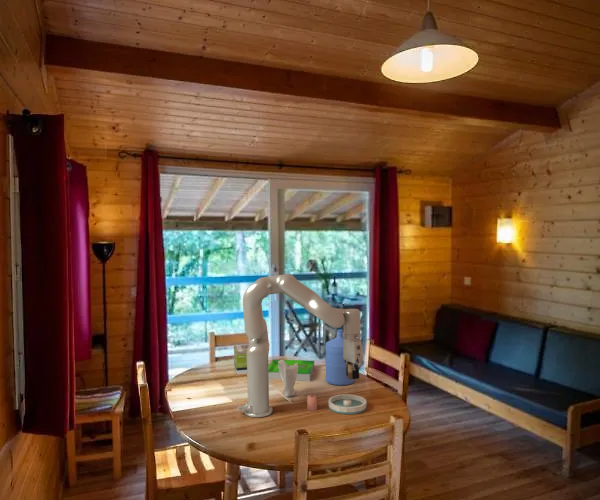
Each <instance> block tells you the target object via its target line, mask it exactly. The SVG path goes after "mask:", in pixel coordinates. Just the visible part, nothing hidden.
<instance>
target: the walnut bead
mask: <svg viewBox="0 0 600 500" xmlns="http://www.w3.org/2000/svg"><path fill="white" fill-rule="evenodd" d="M356 365H357V364H355V366H356ZM352 370H353V364H352V363H350V364H348V379H353V378H352Z"/></svg>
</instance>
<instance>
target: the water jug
mask: <svg viewBox="0 0 600 500" xmlns="http://www.w3.org/2000/svg"><path fill="white" fill-rule="evenodd" d="M343 344H344V329H341V328H338V329H336V337H335V338H332V339H329V340H328V341H326V342H325V347H324V348H325V349H324V350H325V382H326V383H327V384H329V385H332V386H348V385H352V384H353V383H354V382H355V380H356V379H348V376H346V363H345V361H344V359H343Z"/></svg>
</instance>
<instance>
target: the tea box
mask: <svg viewBox="0 0 600 500" xmlns="http://www.w3.org/2000/svg"><path fill="white" fill-rule="evenodd" d="M248 347H249V343H248V344H239V345H237V344H236V345H233V357H234V358H233V361H234V362H233V363H234V364H233V365H234V366H233V368H234V367H235V368H234V371H235V370H236V372H235V374H236V373H237V374H245V373H247V358H246V356H247V350H248Z"/></svg>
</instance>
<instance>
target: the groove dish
mask: <svg viewBox="0 0 600 500" xmlns="http://www.w3.org/2000/svg"><path fill="white" fill-rule="evenodd" d="M327 404H328V409H329V410H330V411H331V412H333V413H336V414H340V415H350V416H351V415H358V414H361V413H363V412H365V411H366V410H367V405H368V403H367V399H366V398H365V397H363V396H360V395H356V394H349V393H345V394H344V393H342V394H340V393H339V394H337V395H336V394H335V395H332V396H331V397H329V398H328V403H327Z"/></svg>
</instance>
